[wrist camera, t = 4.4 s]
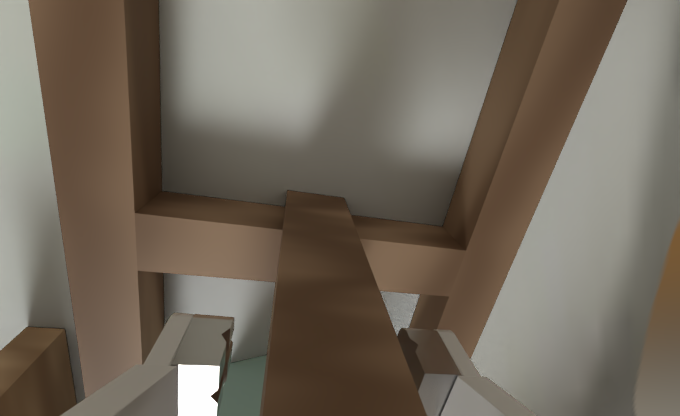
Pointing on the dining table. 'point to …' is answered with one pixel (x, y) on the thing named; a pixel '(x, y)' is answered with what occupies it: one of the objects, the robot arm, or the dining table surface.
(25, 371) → the frame
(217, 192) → the dining table surface
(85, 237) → the brown rectangular open frame
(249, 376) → the teal cube
